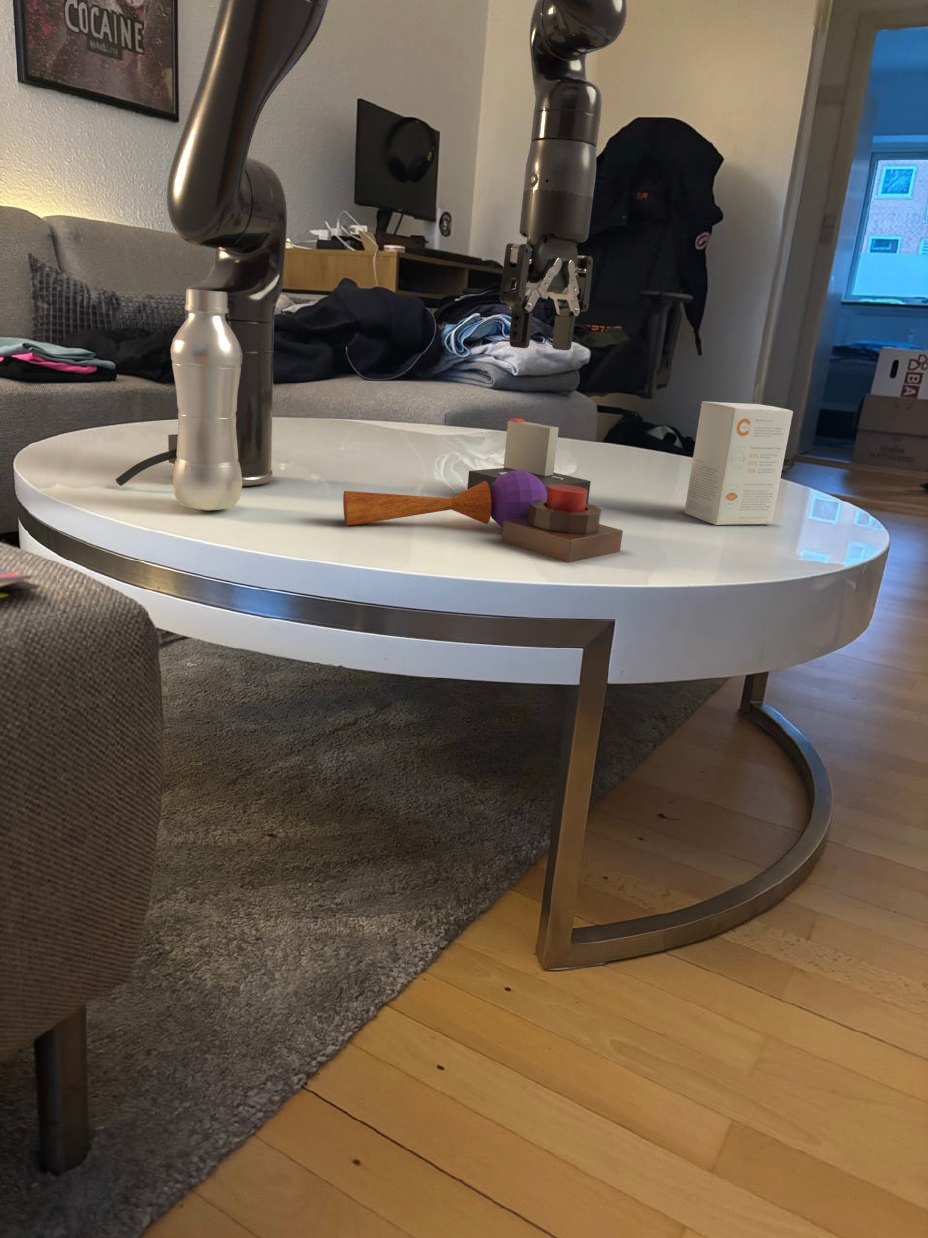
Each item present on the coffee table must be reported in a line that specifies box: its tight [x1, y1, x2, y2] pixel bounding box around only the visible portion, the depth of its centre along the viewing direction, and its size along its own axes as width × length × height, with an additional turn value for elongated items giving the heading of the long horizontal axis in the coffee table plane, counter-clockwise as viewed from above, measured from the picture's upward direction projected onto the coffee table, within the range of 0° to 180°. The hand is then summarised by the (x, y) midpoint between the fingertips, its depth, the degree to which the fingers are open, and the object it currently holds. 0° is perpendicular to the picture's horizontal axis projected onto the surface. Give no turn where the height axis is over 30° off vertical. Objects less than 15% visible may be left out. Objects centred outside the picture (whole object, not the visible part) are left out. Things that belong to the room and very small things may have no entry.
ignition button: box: [546, 484, 587, 512], centre depth 84 cm, size 4×4×2 cm
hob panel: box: [466, 462, 592, 504], centre depth 107 cm, size 12×12×3 cm
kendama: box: [342, 470, 547, 529], centre depth 89 cm, size 6×6×20 cm
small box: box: [684, 400, 794, 526], centre depth 104 cm, size 8×6×13 cm
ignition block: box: [500, 499, 624, 564], centre depth 85 cm, size 8×8×4 cm
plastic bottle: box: [170, 288, 243, 512], centre depth 85 cm, size 6×7×20 cm
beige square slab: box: [503, 417, 560, 476], centre depth 107 cm, size 6×2×6 cm, turn 50°
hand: (540, 348), depth 103 cm, fingers open, 8 cm apart
